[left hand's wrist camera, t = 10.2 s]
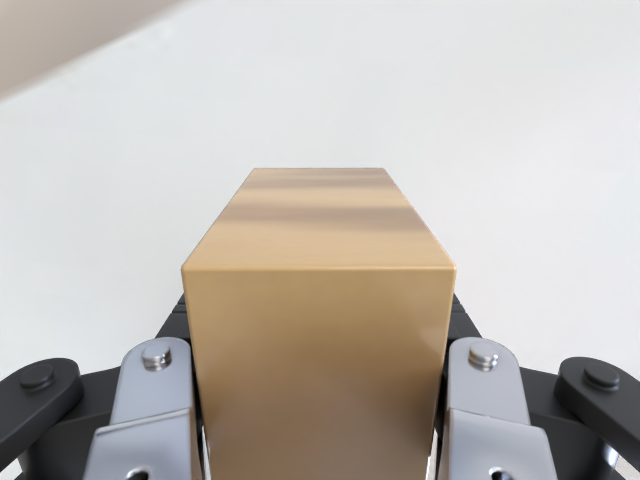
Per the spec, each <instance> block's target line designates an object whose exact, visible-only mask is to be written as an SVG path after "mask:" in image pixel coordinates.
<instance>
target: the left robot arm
mask: <svg viewBox="0 0 640 480" xmlns="http://www.w3.org/2000/svg"><path fill="white" fill-rule="evenodd" d="M202 427H203V419H202V412H201V405H200V398H199V392H198V385H197V378H196V371H195V364H194V357H193V350H192V343H191V336H190V329H189V323H188V316H187V309H186V302H185V295H184V293H183V295H182V296H181V298H180V300H179V301H178V304H177V305H176V306H175V307H174V309H173V311H172V313H171V314H170V315H169V317H168V318H167V320H166V321H165V323H164V325H163V326H162V328H161V329H160V331H159V332H158V334H157V336H156V337H155V339H152V340H148V341H146V342H143V343H141V344H139V345H137V346H136V347H134V348H133V349H131V350H130V351H129V352H128V353H127V354H126V355H125V357H124V358H123V361H122V364H121V366H119V367H116V368H112V369H108V370H104V371H99V372H94V373H89V374H85V375H80V371H79V368H78V365H77V363H76V362H74V361H73V360H70V359H66V358H52V359H46V360H42V361H38V362H35V363H32V364H30V365H27V366H25V367H23V368H21V369H19V370H17V371H16V372H14V373H12V374H11V375H9V376H8V377H6V378H5V379H4V380H2V381H1V382H0V472H1V471H2V470H4V469H5V468H6V467H7V466H8V465H9V464H10V463H11V462H13V461H14V460H15V459H16V458H18V461H19V463H20V466H21V469H22V471H23V472H22V473H21V474H20V475H19V476H18V477H17V478H16V479H14V480H207V478H206V463H205V448H204V438H203V431H202ZM435 429H436V432H437V438H436V447H435V462H434V478H433V480H626V479H624V478H623V477H622V476H621V475H620V474H619V473H618V472H617V471H616V470H615V469H614V467H615V465H616V462H617V460H618V457H619V454H620V455H621V456H622V457H623V458H624V459H625V460H626V461H627V462H629V463H630V464H631V465H632V466H633V467H634V468H635V469H636V470H638V471H639V472H640V382H639V381H638V380H636V379H635V378H634V377H632V376H631V375H629V374H628V373H626V372H625V371H623V370H621V369H620V368H618V367H616V366H614V365H611V364H609V363H607V362H604V361H601V360H597V359H593V358H588V357H571V358H568V359H566V360H564V361H563V362H562V363H561V365H560V368H559V372H558V375H555V374H550V373H546V372H541V371H536V370H531V369H527V368H523V367H519V364H518V361H517V358H516V357H515V355H514V354H513V353H512V352H511V351H510V350H509V349H507V348H506V347H504V346H503V345H501V344H499V343H497V342H494V341H492V340H488V339H484V338H482V337H481V335H480V333H479V332H478V330H477V329H476V327H475V325H474V324H473V322H472V321H471V319H470V317H469V316H468V314H467V313H465V310H464V308H463V306H462V305H461V304H460V302H459V300H458V298H457V297H456V295H455V294H454V293H453V300H452V307H451V314H450V321H449V328H448V336H447V343H446V350H445V357H444V364H443V371H442V378H441V385H440V392H439V399H438V407H437V414H436V421H435Z"/></svg>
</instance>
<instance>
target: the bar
mask: <svg viewBox="0 0 640 480" xmlns="http://www.w3.org/2000/svg"><path fill="white" fill-rule="evenodd" d="M456 272H457V268H456V265H455V264H454V262H453V261H452V260H451V258H450V257H449V256H448V254H447V253H446V252H445V250H444V249H443V247H442V246H441V245H440V243H439V242H438V241H437V239H436V238H435V237H434V235H433V234H432V233H431V231H430V230H429V229H428V227H427V226H426V224H425V223H424V222H423V220H422V219H421V218H420V216H419V215H418V214H417V212H416V211H415V210H414V208H413V207H412V206H411V204H410V203H409V201H408V200H407V199H406V197H405V196H404V195H403V193H402V192H401V191H400V189H399V188H398V187H397V185H396V184H395V183H394V181H393V180H392V179H391V177H390V176H389V174H388V173H387V172H386V170H385V169H384V168H254V169H253V170H252V172H251V173H250V174H249V176H248V177H247V178H246V180H245V181H244V182H243V184H242V185H241V186H240V188H239V189H238V191H237V192H236V193H235V195H234V196H233V197H232V199H231V200H230V201H229V203H228V204H227V205H226V207H225V208H224V210H223V211H222V212H221V214H220V215H219V216H218V218H217V219H216V220H215V222H214V223H213V224H212V226H211V227H210V228H209V230H208V231H207V233H206V234H205V235H204V237H203V238H202V239H201V241H200V242H199V243H198V245H197V246H196V247H195V249H194V250H193V252H192V253H191V254H190V256H189V257H188V258H187V260H186V261H185V262H184V264H183V265H182V267H181V274H182V281H183V288H184V295H185V302H186V309H187V316H188V323H189V329H190V336H191V343H192V350H193V357H194V364H195V371H196V378H197V385H198V392H199V398H200V405H201V412H202V419H203V426H204V433H205V440H206V447H207V454H208V460H209V467H210V474H211V480H427V478H428V470H429V463H430V456H431V449H432V442H433V435H434V428H435V421H436V414H437V407H438V399H439V392H440V385H441V378H442V371H443V364H444V357H445V350H446V343H447V336H448V328H449V321H450V314H451V307H452V300H453V293H454V286H455V279H456Z"/></svg>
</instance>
